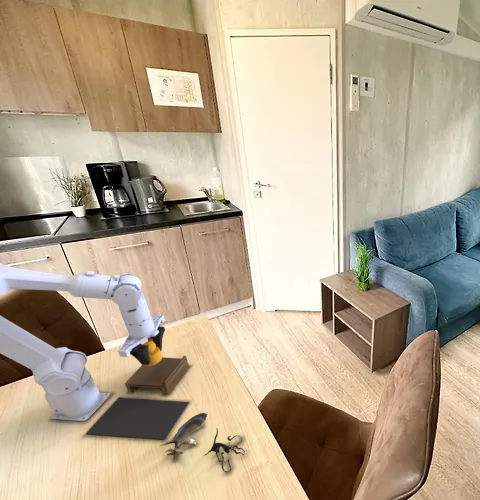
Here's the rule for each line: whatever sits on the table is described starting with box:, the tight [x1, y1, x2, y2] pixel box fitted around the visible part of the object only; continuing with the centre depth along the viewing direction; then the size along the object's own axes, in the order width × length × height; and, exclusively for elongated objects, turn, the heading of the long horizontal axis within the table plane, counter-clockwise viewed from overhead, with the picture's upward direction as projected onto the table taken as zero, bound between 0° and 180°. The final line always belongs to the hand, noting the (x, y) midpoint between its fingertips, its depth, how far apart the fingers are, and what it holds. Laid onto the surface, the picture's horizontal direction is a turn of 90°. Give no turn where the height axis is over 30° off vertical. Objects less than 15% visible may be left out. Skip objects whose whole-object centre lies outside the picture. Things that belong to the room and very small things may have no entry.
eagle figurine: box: [159, 412, 208, 460], centre depth 67 cm, size 8×7×9 cm
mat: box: [85, 397, 189, 441], centre depth 73 cm, size 20×10×1 cm, turn 86°
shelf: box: [124, 355, 190, 396], centre depth 84 cm, size 12×10×5 cm
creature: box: [203, 427, 246, 473], centre depth 64 cm, size 8×5×8 cm
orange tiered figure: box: [142, 339, 163, 366], centre depth 80 cm, size 4×4×7 cm
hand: (151, 357), depth 81 cm, fingers closed on orange tiered figure, 4 cm apart
